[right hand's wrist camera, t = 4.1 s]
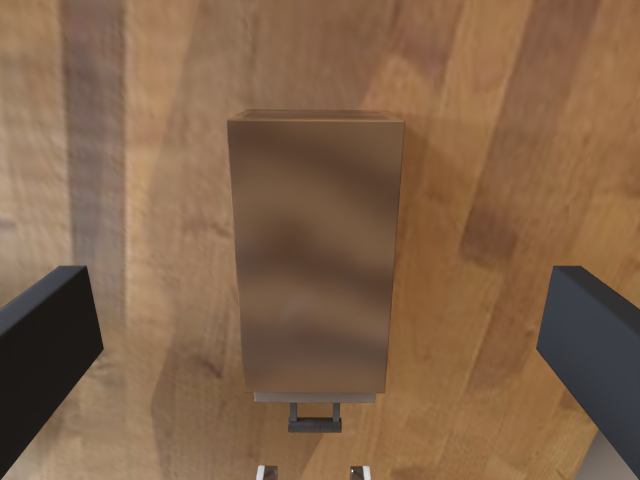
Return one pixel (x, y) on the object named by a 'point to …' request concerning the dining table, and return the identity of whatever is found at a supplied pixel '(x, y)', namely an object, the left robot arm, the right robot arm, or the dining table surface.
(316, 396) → the drawer
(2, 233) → the dining table surface
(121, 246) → the dining table surface
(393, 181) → the cabinet
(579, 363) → the right robot arm
